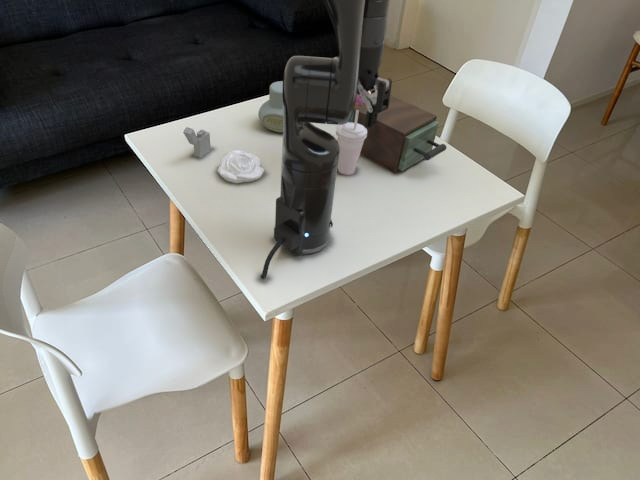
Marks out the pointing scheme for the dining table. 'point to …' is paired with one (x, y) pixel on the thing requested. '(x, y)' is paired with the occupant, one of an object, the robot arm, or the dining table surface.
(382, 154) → the cabinet
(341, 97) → the robot arm
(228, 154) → the rose
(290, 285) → the dining table surface
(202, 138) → the lighter
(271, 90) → the air freshener
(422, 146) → the drawer
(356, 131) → the smoothie
